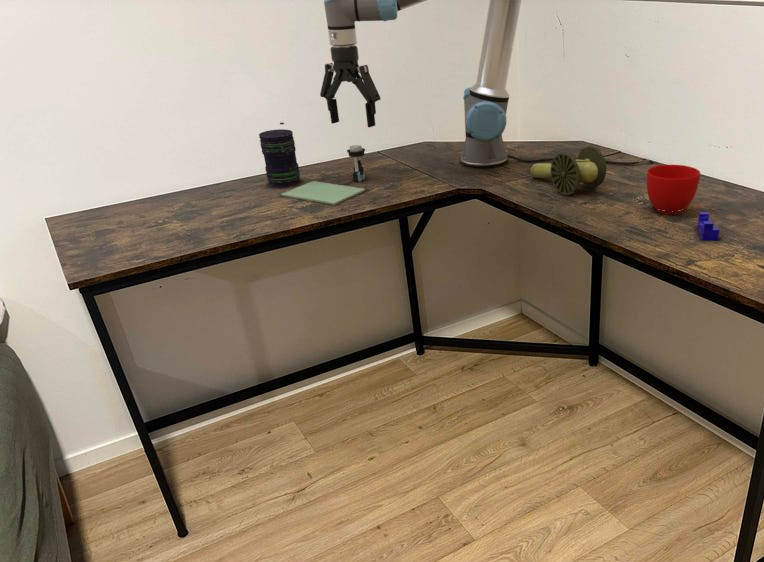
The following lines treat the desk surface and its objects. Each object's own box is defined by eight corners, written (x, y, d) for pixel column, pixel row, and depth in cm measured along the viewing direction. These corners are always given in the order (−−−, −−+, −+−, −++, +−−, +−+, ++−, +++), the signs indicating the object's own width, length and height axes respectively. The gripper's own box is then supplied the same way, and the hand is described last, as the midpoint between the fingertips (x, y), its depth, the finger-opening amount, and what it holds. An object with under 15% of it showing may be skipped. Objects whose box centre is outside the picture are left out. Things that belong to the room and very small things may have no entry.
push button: (355, 175, 211) (351, 143, 206) (371, 176, 210) (368, 143, 205) (348, 182, 205) (344, 148, 200) (365, 182, 204) (361, 148, 199)
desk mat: (365, 190, 197) (365, 188, 197) (334, 205, 187) (334, 203, 186) (313, 182, 206) (313, 180, 205) (281, 195, 195) (280, 193, 195)
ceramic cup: (701, 200, 180) (706, 163, 175) (690, 221, 167) (695, 181, 162) (653, 195, 185) (656, 158, 180) (638, 215, 172) (641, 176, 167)
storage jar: (261, 186, 204) (249, 125, 195) (281, 177, 212) (270, 118, 202) (288, 189, 201) (277, 127, 191) (307, 180, 208) (297, 119, 199)
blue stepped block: (717, 240, 156) (720, 223, 154) (702, 240, 156) (704, 223, 154) (712, 228, 162) (714, 212, 160) (697, 227, 163) (699, 212, 161)
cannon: (519, 181, 200) (519, 142, 194) (549, 173, 206) (550, 135, 200) (578, 200, 183) (580, 158, 177) (609, 191, 189) (612, 150, 183)
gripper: (300, 45, 191) (312, 123, 202) (371, 49, 180) (379, 130, 191) (318, 42, 196) (328, 118, 207) (387, 45, 185) (395, 125, 196)
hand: (353, 124), depth 199 cm, fingers open, 13 cm apart
